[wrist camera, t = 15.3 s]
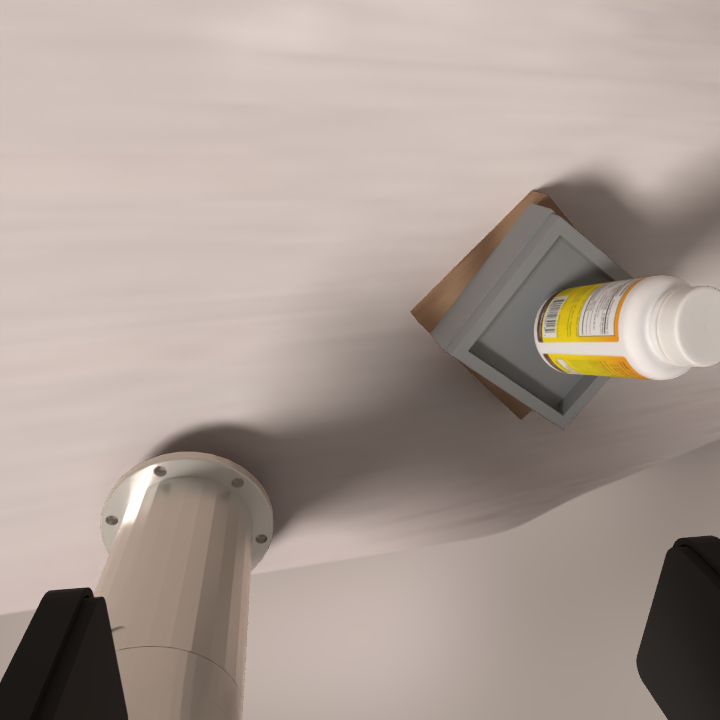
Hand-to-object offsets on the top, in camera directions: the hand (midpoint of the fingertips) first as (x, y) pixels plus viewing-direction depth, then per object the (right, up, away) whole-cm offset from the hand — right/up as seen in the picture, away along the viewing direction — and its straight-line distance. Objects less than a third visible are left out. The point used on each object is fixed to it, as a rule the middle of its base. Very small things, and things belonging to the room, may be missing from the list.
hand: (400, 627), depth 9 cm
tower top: (+12, +8, +31) cm, 34 cm away
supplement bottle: (+13, +6, +28) cm, 31 cm away
